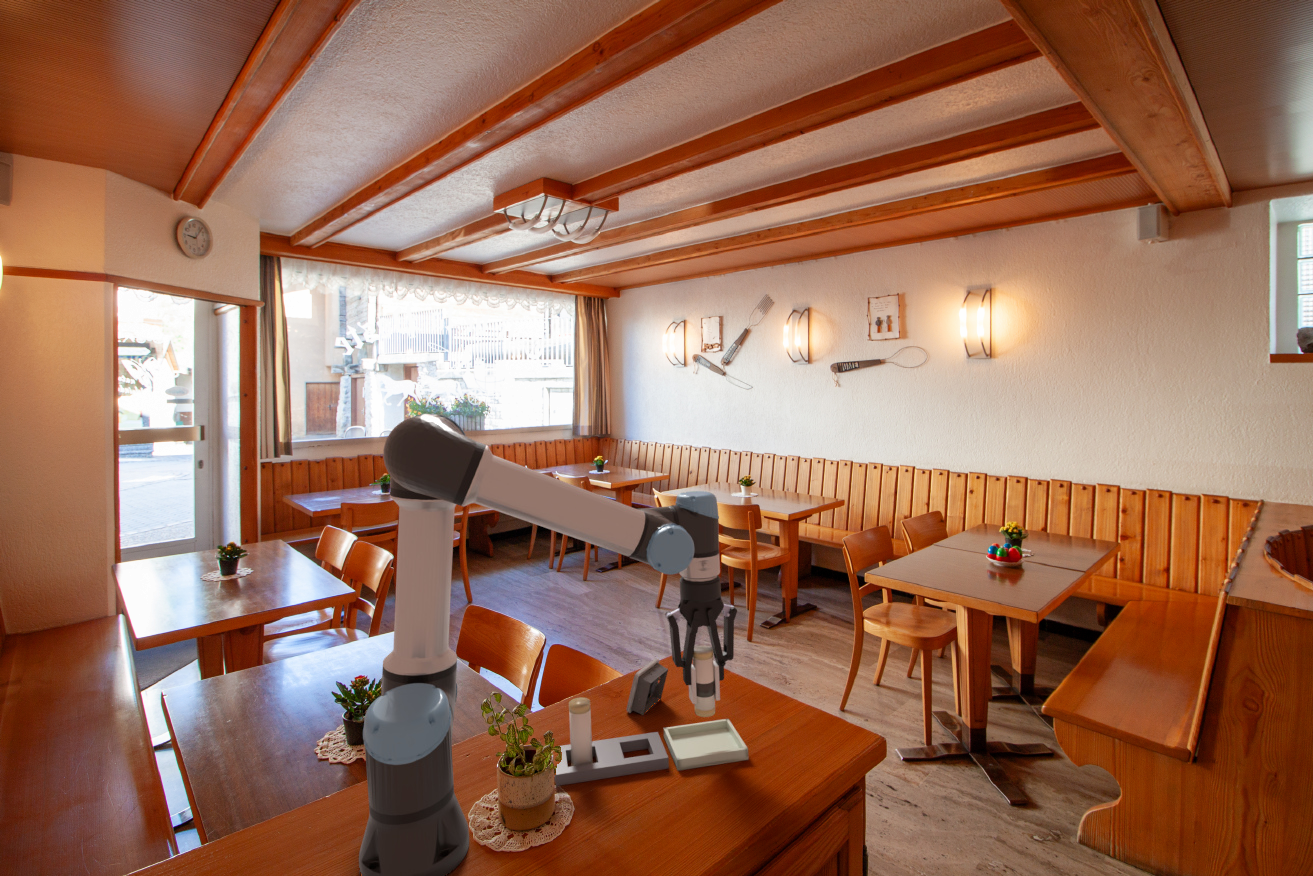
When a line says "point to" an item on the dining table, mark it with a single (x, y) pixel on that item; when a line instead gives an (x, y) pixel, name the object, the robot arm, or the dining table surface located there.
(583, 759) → the fuse
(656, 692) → the electrical switch
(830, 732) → the dining table surface
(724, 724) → the parts tray
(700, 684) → the fuse
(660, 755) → the fuse block
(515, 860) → the dining table surface
